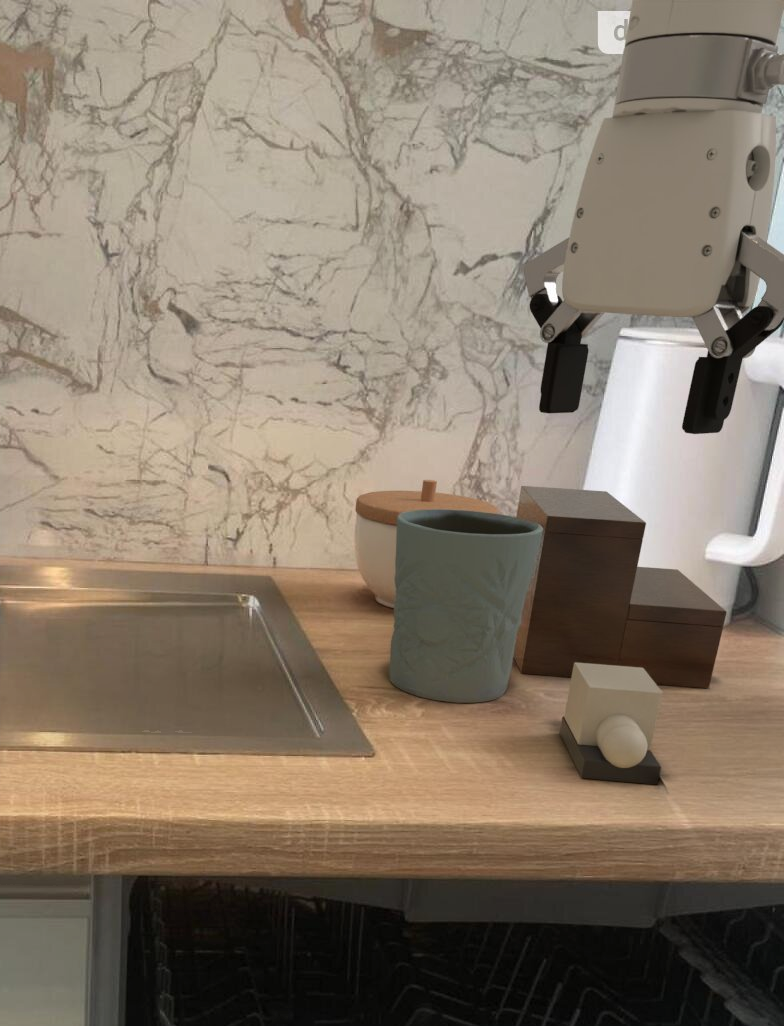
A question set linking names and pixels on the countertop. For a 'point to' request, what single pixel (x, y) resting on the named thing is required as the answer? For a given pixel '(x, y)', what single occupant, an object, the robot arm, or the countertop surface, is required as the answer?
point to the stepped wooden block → (608, 596)
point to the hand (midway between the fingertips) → (626, 421)
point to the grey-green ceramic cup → (459, 601)
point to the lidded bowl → (395, 530)
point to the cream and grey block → (612, 723)
